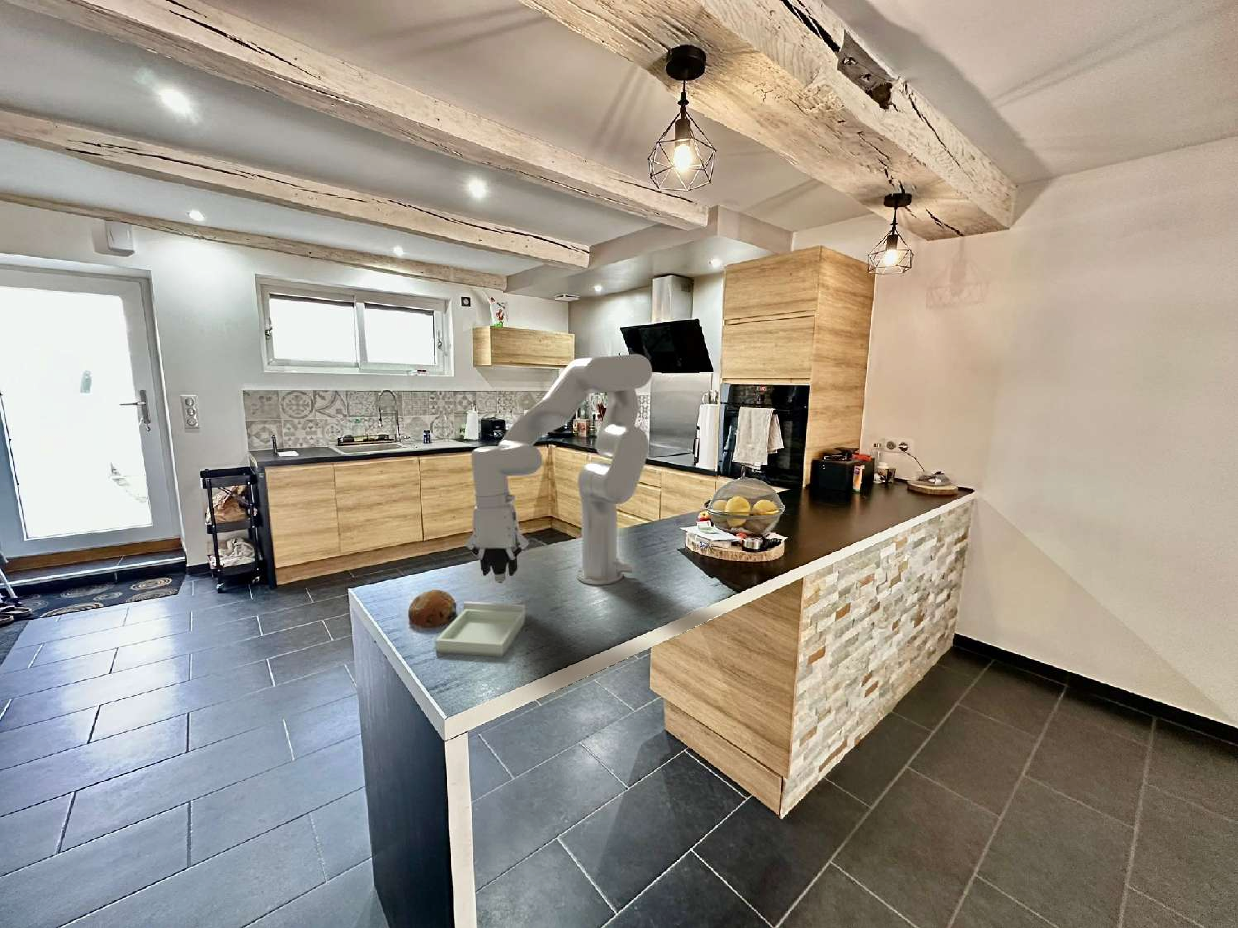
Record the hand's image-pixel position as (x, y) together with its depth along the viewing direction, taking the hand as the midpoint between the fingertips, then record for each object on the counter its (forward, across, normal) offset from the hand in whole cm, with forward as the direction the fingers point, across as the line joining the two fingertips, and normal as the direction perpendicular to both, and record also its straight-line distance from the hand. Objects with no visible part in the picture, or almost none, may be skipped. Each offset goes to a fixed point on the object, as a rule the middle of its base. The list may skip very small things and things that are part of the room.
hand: (499, 572), depth 115 cm
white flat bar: (+7, -1, +7) cm, 10 cm away
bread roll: (+7, +12, +9) cm, 17 cm away
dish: (+7, -2, +16) cm, 18 cm away
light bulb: (+3, 0, 0) cm, 3 cm away
